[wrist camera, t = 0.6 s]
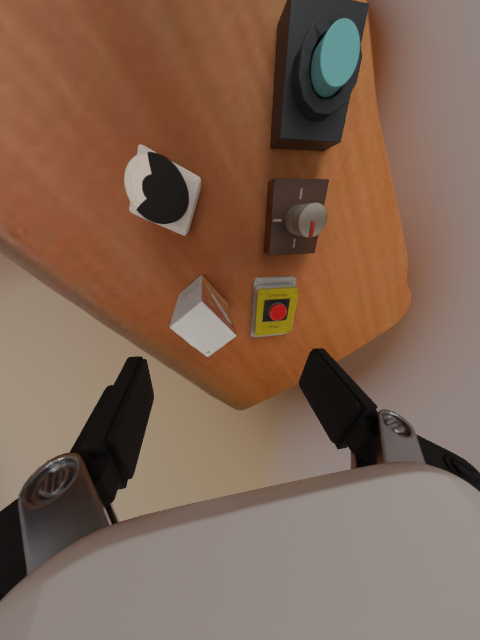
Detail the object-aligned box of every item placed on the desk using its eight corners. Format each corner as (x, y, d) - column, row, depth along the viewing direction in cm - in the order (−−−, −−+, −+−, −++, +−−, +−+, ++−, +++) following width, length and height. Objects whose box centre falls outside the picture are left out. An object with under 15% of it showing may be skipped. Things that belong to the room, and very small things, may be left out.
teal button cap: (314, 32, 19) (326, 13, 17) (351, 38, 19) (366, 21, 17) (306, 95, 21) (316, 84, 19) (340, 99, 21) (352, 89, 20)
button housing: (277, 23, 21) (301, -37, 16) (344, 35, 23) (385, -18, 18) (270, 148, 27) (286, 132, 22) (324, 150, 28) (350, 136, 23)
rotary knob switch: (268, 181, 29) (275, 177, 26) (318, 182, 30) (329, 179, 28) (264, 252, 34) (269, 255, 32) (306, 250, 36) (315, 253, 33)
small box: (227, 301, 38) (238, 336, 27) (205, 319, 40) (207, 359, 28) (201, 273, 34) (201, 300, 23) (178, 293, 35) (167, 328, 24)
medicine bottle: (201, 185, 28) (201, 168, 17) (188, 232, 30) (182, 241, 20) (152, 159, 25) (119, 120, 15) (143, 212, 28) (110, 211, 18)
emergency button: (305, 282, 35) (292, 343, 42) (295, 275, 38) (285, 333, 46) (259, 284, 33) (254, 347, 41) (253, 277, 37) (250, 336, 44)
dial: (286, 204, 28) (302, 202, 24) (311, 204, 29) (331, 202, 25) (283, 234, 31) (297, 238, 26) (306, 234, 31) (324, 237, 27)
